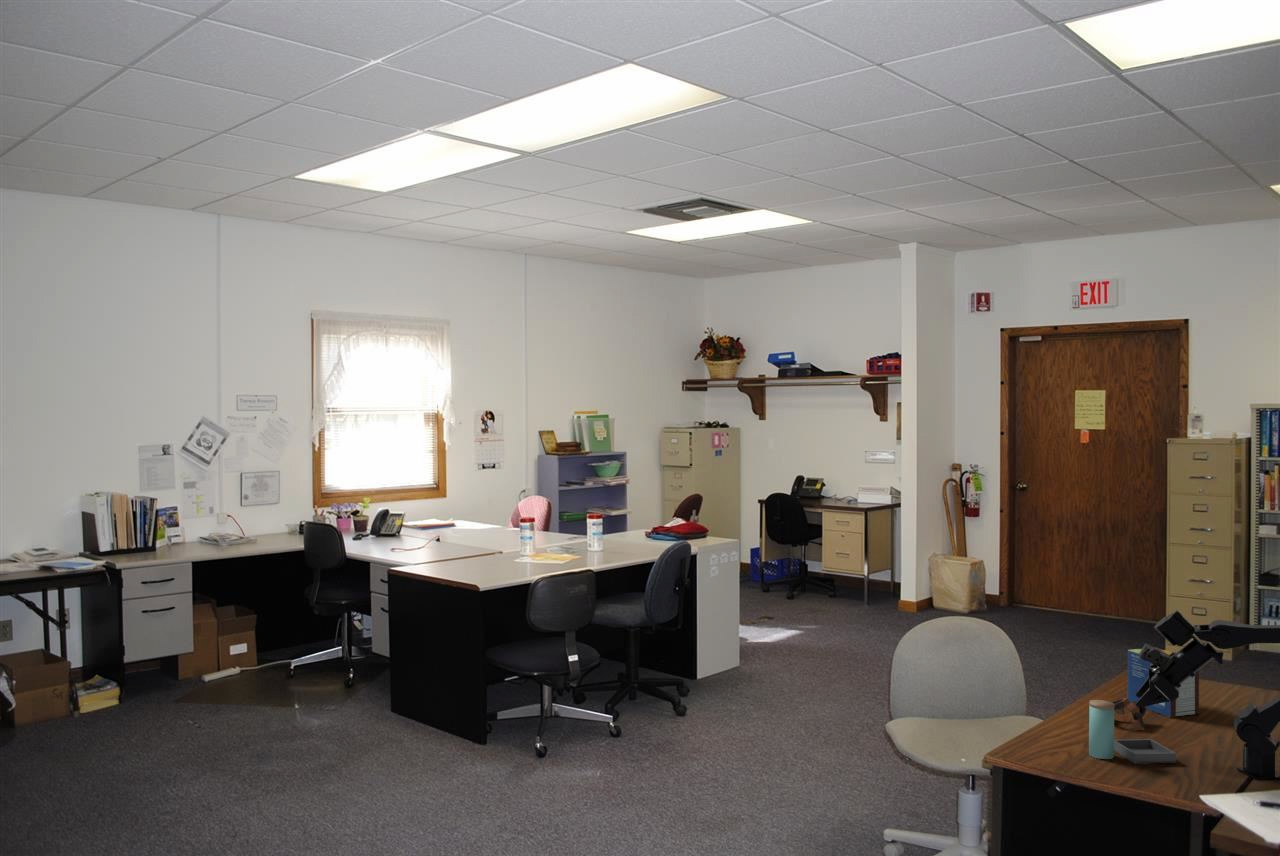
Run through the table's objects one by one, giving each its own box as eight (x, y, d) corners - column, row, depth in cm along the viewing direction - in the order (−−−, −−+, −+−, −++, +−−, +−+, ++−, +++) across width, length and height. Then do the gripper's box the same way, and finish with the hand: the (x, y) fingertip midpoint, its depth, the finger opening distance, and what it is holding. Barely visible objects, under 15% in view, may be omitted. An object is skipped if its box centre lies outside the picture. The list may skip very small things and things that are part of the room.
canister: (1118, 759, 233) (1119, 706, 233) (1096, 760, 233) (1096, 706, 232) (1106, 752, 238) (1106, 699, 238) (1084, 752, 238) (1085, 699, 238)
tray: (1176, 763, 230) (1176, 753, 230) (1135, 764, 230) (1135, 754, 230) (1150, 748, 241) (1151, 738, 240) (1111, 749, 240) (1111, 739, 240)
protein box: (1154, 699, 283) (1155, 646, 283) (1199, 715, 268) (1200, 659, 268) (1126, 702, 280) (1126, 649, 279) (1170, 718, 265) (1170, 662, 265)
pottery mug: (1132, 735, 252) (1114, 705, 255) (1107, 740, 260) (1090, 711, 263) (1162, 718, 257) (1145, 688, 260) (1137, 723, 265) (1120, 695, 268)
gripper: (1160, 627, 241) (1111, 666, 246) (1162, 642, 224) (1109, 684, 229) (1196, 661, 237) (1146, 701, 242) (1201, 680, 220) (1147, 722, 226)
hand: (1136, 701), depth 235 cm, fingers open, 9 cm apart
